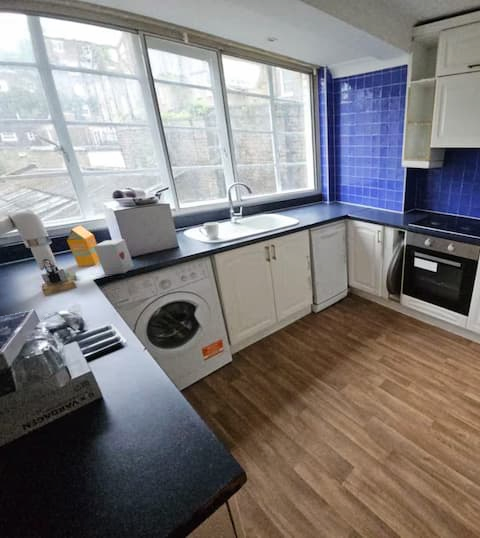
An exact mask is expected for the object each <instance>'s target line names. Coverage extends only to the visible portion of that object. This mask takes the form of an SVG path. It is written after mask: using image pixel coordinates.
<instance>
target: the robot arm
mask: <svg viewBox="0 0 480 538" xmlns="http://www.w3.org/2000/svg"><path fill="white" fill-rule="evenodd" d="M16 230H17V232H18V233H19V236H20V238H21V240H22V242H23V244H24V245H25V247H26V248H27V249H30V250H31V253H32V256H33V257H34V260H35V262H36V263H37V266H38V268H39V270H40V271H44V270H45V272H46V273H47V276H48V278H49V280H50V282H51V283H57V282H61V278H60V276H59V274H58V272H56V271H59V270H60V269H59V268H58V266H57V261H56V258H55V255H54V254H53V253H54V252H52V251H53V250H52V249H51V244H52V243H53V242H52V239H51V238H50V235H49V233H48V231H47V229H46V228H45V225H44V223H43V220H42V219H41V217H40V215H39V212H37V211H35V210H22V211H17V212H15V211H13V212H11V211H10V212H9V211H3V212H1V211H0V236H3V235H5V234H7V233H10V232H13V231H16Z"/></svg>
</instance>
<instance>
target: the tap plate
mask: <svg viewBox="0 0 480 538" xmlns="http://www.w3.org/2000/svg"><path fill="white" fill-rule="evenodd" d="M74 279H75V278H74ZM74 279H73V277H69V278H68V280H69V281H65V282H61V283H57V284H53V285H49V286H46V284H45V282H44V283H41V285H40V288H41V291H42V293H43V295H44V296H50V295H53V294H58V293H61V292H66V291H69V290H73V289H77V284H76V280H75V281H74Z"/></svg>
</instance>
